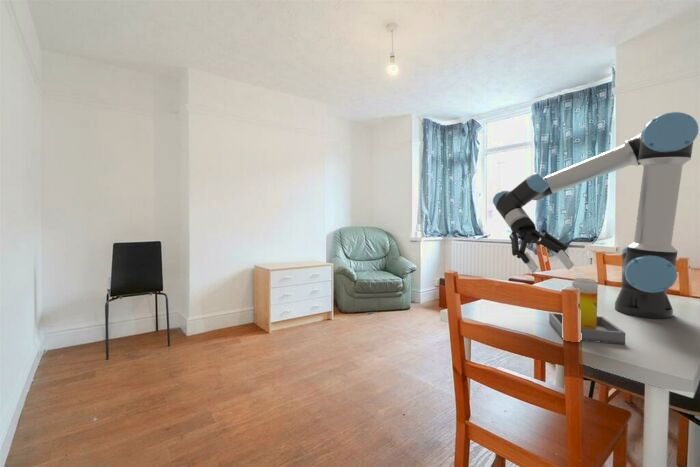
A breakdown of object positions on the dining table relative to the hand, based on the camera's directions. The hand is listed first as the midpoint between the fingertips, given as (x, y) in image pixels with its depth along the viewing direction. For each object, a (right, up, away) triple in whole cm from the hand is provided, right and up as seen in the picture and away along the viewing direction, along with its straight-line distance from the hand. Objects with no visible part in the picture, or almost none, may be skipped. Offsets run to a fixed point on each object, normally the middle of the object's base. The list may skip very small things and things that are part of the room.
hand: (553, 268), depth 105 cm
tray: (+3, -18, -10) cm, 21 cm away
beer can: (+3, -17, -10) cm, 20 cm away
